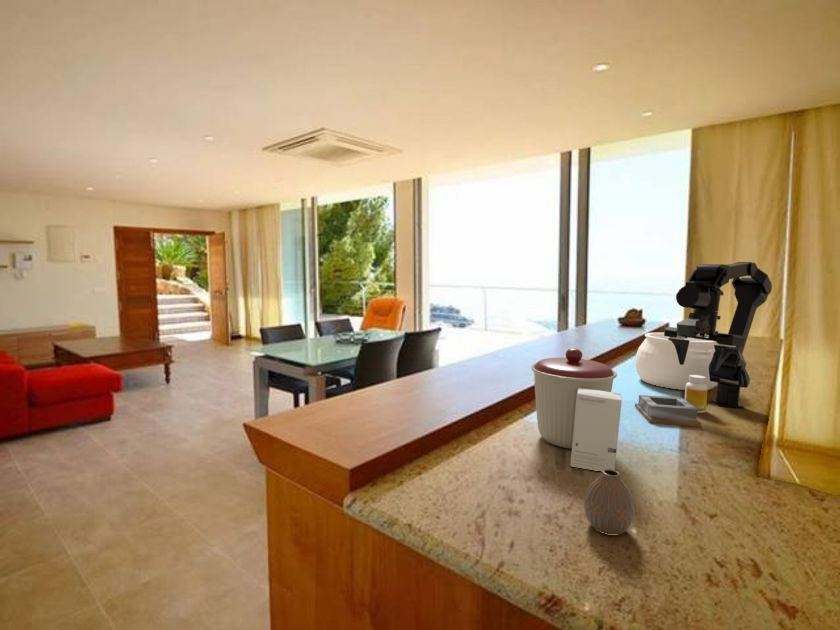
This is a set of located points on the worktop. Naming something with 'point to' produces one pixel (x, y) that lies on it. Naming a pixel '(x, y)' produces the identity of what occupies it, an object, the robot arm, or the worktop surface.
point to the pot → (673, 361)
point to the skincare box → (596, 429)
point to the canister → (565, 392)
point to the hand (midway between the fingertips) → (697, 367)
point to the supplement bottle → (697, 392)
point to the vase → (609, 503)
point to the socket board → (667, 410)
